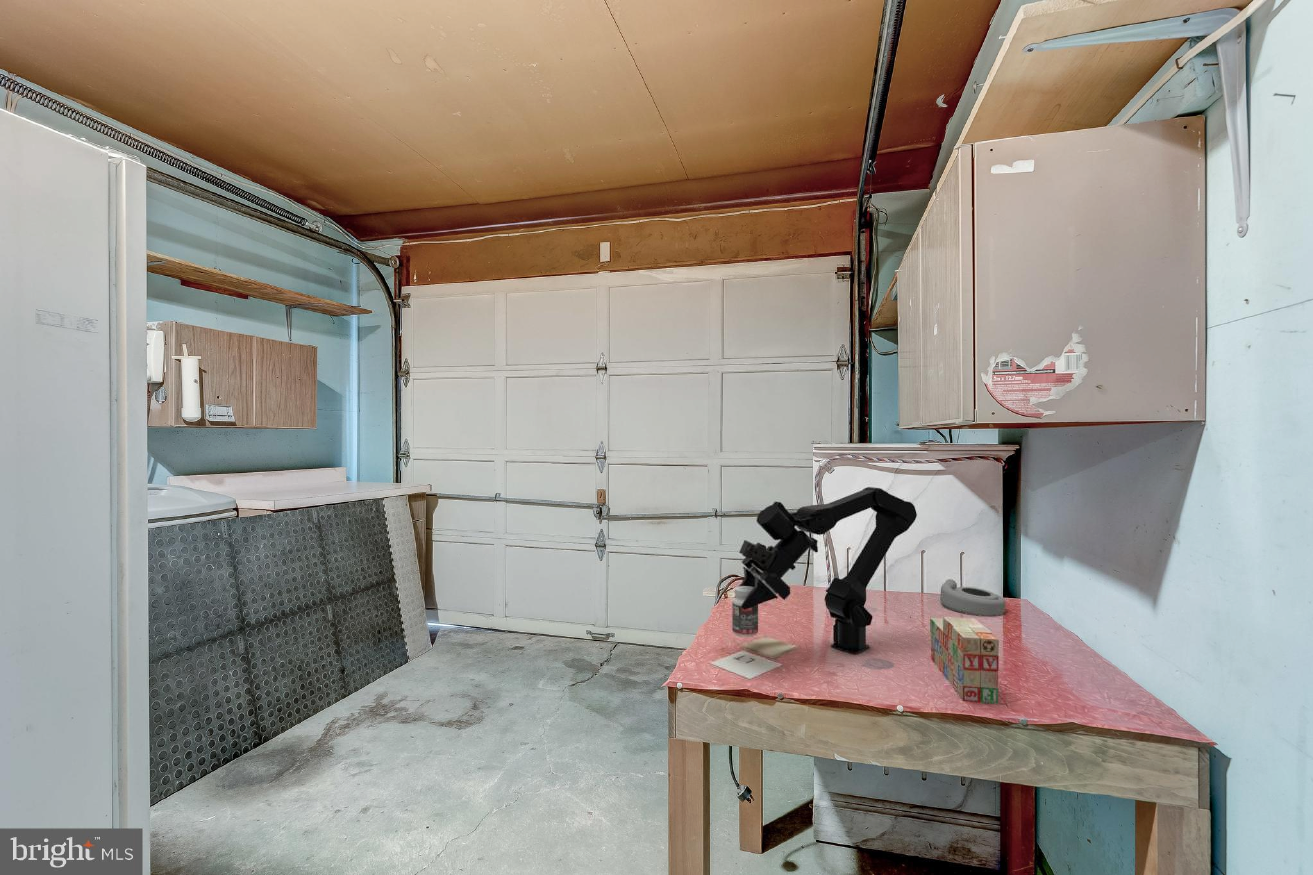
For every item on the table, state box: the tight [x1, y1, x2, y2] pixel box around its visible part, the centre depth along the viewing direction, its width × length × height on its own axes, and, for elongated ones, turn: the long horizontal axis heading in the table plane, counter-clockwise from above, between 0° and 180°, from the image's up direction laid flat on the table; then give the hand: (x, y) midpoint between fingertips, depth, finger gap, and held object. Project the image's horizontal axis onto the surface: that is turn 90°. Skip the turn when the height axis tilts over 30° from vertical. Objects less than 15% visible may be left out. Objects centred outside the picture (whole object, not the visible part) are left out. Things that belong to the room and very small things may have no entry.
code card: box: [709, 650, 783, 680], centre depth 124 cm, size 11×11×1 cm
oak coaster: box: [741, 636, 797, 659], centre depth 134 cm, size 9×9×1 cm
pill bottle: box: [731, 585, 759, 638], centre depth 127 cm, size 6×6×10 cm
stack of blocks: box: [929, 616, 1000, 704], centre depth 117 cm, size 21×6×12 cm, turn 169°
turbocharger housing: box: [939, 578, 1007, 617], centre depth 166 cm, size 17×6×15 cm
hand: (738, 604), depth 127 cm, fingers closed on pill bottle, 6 cm apart
